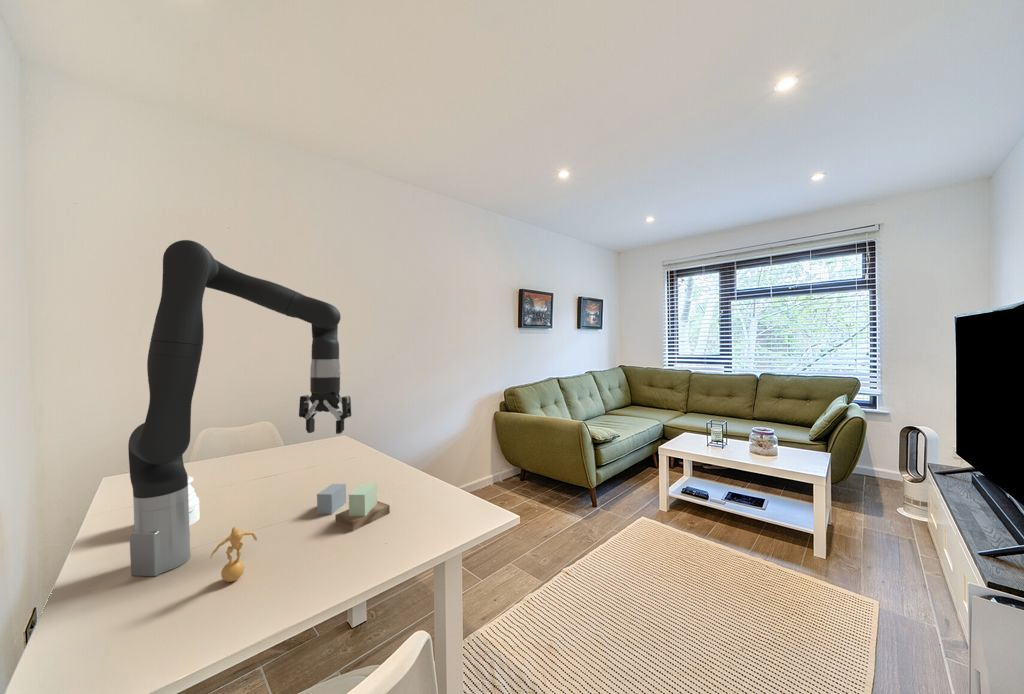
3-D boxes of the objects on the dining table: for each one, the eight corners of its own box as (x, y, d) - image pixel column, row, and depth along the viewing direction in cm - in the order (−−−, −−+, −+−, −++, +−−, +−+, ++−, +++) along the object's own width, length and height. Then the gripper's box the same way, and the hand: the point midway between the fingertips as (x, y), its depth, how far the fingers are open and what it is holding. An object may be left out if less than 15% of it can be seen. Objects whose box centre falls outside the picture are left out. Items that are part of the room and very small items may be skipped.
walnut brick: (353, 533, 100) (352, 522, 100) (335, 525, 105) (335, 514, 105) (389, 515, 110) (389, 505, 110) (372, 508, 115) (372, 499, 115)
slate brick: (332, 514, 110) (331, 494, 110) (317, 514, 111) (316, 494, 111) (346, 502, 118) (345, 484, 118) (332, 502, 119) (332, 483, 119)
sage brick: (365, 516, 104) (364, 494, 103) (349, 516, 104) (348, 494, 104) (376, 503, 112) (376, 483, 111) (362, 503, 112) (361, 483, 112)
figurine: (251, 567, 85) (250, 514, 85) (262, 576, 81) (260, 521, 81) (206, 586, 78) (204, 530, 78) (215, 598, 75) (213, 538, 75)
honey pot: (208, 510, 114) (206, 452, 114) (186, 531, 102) (184, 465, 102) (155, 517, 111) (153, 456, 110) (126, 539, 98) (123, 471, 98)
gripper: (292, 376, 103) (292, 435, 103) (341, 376, 101) (341, 436, 101) (310, 374, 110) (310, 429, 110) (356, 374, 109) (356, 430, 109)
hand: (325, 432), depth 106 cm, fingers open, 8 cm apart
